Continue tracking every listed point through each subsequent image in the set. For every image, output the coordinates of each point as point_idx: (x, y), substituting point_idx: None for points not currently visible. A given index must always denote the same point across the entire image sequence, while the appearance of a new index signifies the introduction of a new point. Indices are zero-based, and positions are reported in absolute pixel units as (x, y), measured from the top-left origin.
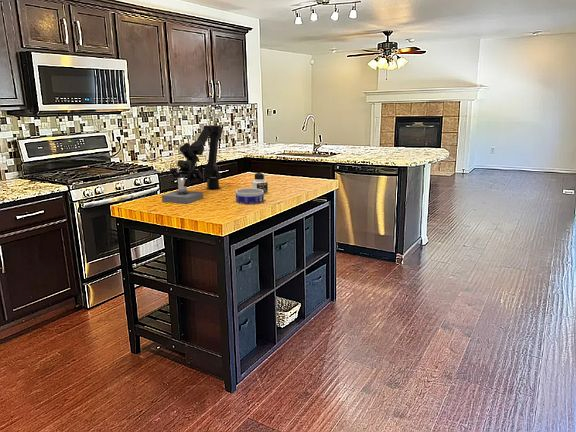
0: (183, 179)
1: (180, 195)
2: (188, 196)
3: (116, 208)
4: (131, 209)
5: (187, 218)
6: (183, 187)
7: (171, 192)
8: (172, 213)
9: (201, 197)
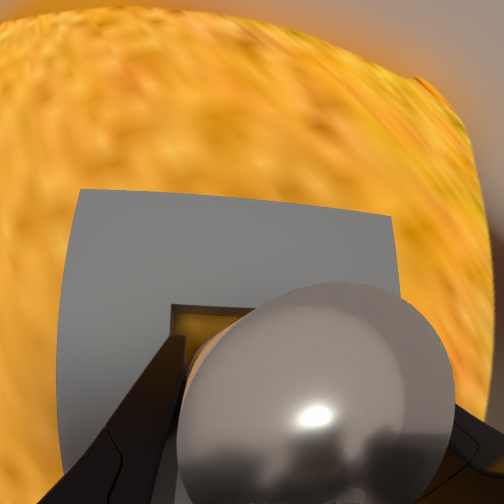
0: (202, 355)
1: (205, 266)
2: (85, 241)
3: (423, 80)
4: (362, 60)
5: (44, 17)
6: (205, 344)
7: None
8: (119, 28)
9: None
